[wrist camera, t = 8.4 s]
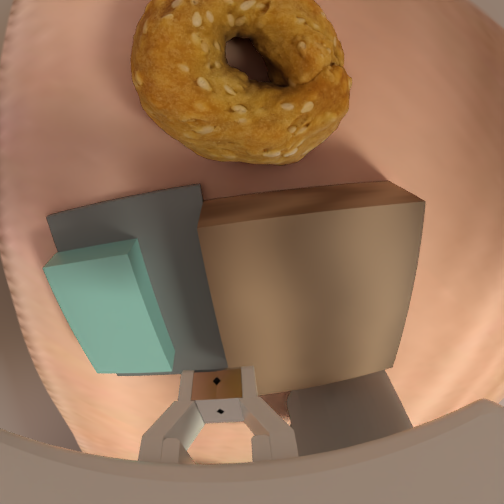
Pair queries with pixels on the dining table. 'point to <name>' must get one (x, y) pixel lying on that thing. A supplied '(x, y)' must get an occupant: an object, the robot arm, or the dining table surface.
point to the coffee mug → (345, 413)
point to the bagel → (241, 77)
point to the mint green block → (112, 307)
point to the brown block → (312, 279)
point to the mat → (158, 263)
